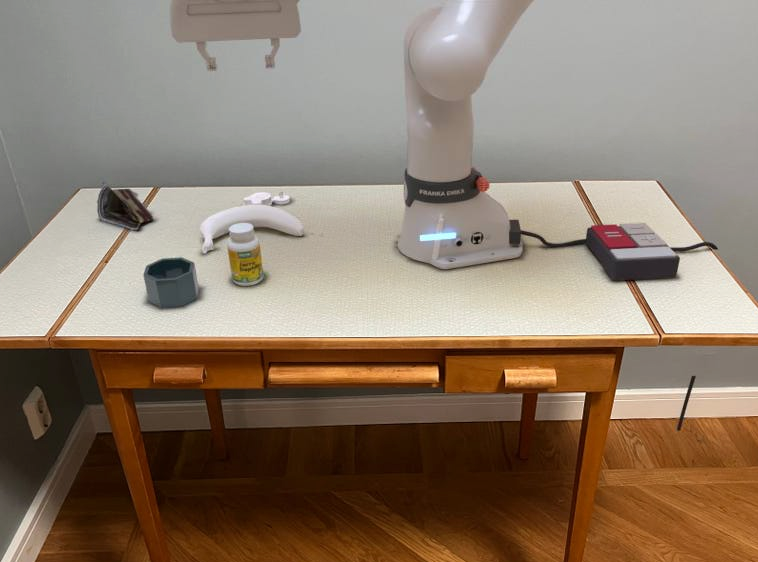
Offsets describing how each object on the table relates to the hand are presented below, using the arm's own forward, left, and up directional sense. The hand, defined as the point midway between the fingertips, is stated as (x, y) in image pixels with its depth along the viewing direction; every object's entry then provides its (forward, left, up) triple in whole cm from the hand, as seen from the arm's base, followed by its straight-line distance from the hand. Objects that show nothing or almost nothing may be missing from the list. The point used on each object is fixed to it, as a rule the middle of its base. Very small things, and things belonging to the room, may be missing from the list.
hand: (241, 68), depth 121 cm
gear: (0, -17, -31) cm, 36 cm away
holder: (+14, +18, -31) cm, 39 cm away
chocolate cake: (+26, -15, -31) cm, 43 cm away
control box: (-64, +16, -31) cm, 73 cm away
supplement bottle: (+2, +14, -31) cm, 34 cm away
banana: (+2, -2, -31) cm, 31 cm away
